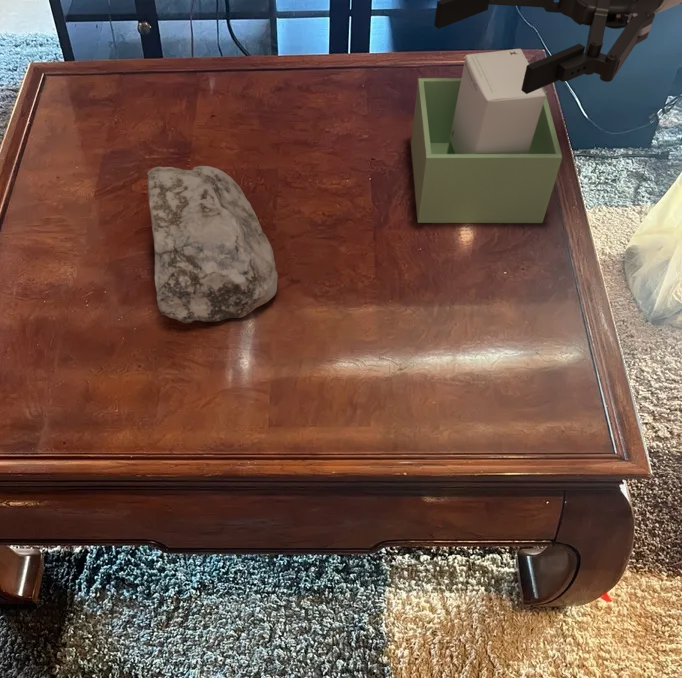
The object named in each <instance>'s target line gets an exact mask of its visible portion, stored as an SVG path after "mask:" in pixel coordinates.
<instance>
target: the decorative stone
mask: <svg viewBox="0 0 682 678" xmlns="http://www.w3.org/2000/svg"><path fill="white" fill-rule="evenodd" d="M146 175H147V196H148V197H147V198H148V204H149V211H150V220H151V231H152V232H151V233H152V238H153V247H154V285H155V291H156V302H157V307H158V310H159V312H160V314H161V315H162V316H167V317H168V318H171V319H174V320H177V321H178V322H181V323H184V324H192V323H193V322H195V321H200V322H207V323H208V322H210V323H215V322H221V321H224V320H226V319H232V318H236V319H239V318H240V319H241V318H243V317H245V316H247V315H248V314H250V313H252V311H254V310H255V309H256V308H258V307H261V306H262V305H265V304H266V303H268V302H269V301H270V300H271V299H272V298H274V296H275V295H276V293H277V291H278V279H279V278H278V276H279V275H278V272H277V270H276V261H275V255H274V254H275V253H274V251H273V248H272V245H271V243H270V241H269V239H268V237H267V235H266V234H265V233H264V232H263V229H262V226H261V224H260V221H259V220H258V217H257V215H256V212H255V211H254V209H253V207H252V205H251V202H249V200H248V199H247V198H246V195H245V193H244V192H243V190H242V189H241V187H240V185H238V183H237V182H236V181H235V180H234V179H233V178H232V177H231V176H230V175H228V174H227V173H226V172H224V171H223V170H221V169H219V168H216V167H213V166H209V165H197V166H194V167H193V168H192V169H182V168H179V167H173V166H156V167H153V168H151V169H149V171H147V173H146Z"/></svg>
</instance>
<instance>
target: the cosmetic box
mask: <svg viewBox="0 0 682 678" xmlns="http://www.w3.org/2000/svg"><path fill="white" fill-rule="evenodd" d="M529 64H530V63H529V61H528V59H527V58H526V56H525V54H524V52H523V50H522V48H513V49H506V50H505V49H503V50H498V51H496V50H495V51H487V52H479V53H471V54H465V56H464V63H463V68H462V73H461V77H460V78H461V83H460V88H459V93H458V98H457V104H456V109H455V114H454V119H453V124H452V129H451V134H450V139H449V145H448V150H447V154H528V152H529V149H530V146H531V142H532V139H533V136H534V132H535V129H536V126H537V123H538V119H539V116H540V113H541V110H542V106H543V103H544V100H545V96H547V94H546V95H545V93H544V91H543V89H542V88H540V89H537V90H535V91H533V92H530V93H528V94H525V93H524V92H523V91H521V89H522V84H523V80H524V76H525V72H526V67H527V65H529Z"/></svg>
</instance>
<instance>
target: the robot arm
mask: <svg viewBox="0 0 682 678" xmlns="http://www.w3.org/2000/svg"><path fill="white" fill-rule="evenodd" d="M681 4H682V0H558V1H555V0H437V1H436V7H435V16H434V23H433V25H434V27H435V28H437V29H438V30H439V29H442V28H444V27H447V26H451V25H452V24H455V23H458V22H460V21H463V20H465V19H467V18H470V17H474V16H476V15H478V14H481V13H484V12H487V11H488V10H489V6H490V5H492V6H493V5H494V6H509V7H510V6H511V7H527V8H543V9H544V11H545V12H547V13H557V14H561V15H563V16H565V17H568V18H570V19H571V20H572V21H574V23H576V24H577V25H578V26H581V25H584V26H589V28H588V34H587V40H586V46H584V45H583V44H581V43H577V44H575V45H573V46H570V47H567V48H565V49H563V50H560V51H558V52H556V53H553V54H551V55H548V56H546V57H544V58H542V59H539V60H536V61H534V62H531V63H529V65H527V67H526V72H525V76H524V80H523V84H522V89H521V91H523V92H524V93H525V94H528V93H530V92H533V91H535V90H537V89H540V88H542V87H544V88H545V87H546V86H549V85H551V84H553V83H556V82H558V81H560V82H562V83H563V82H570V81H571V80H574V79H576V78H578V77H580V76H582V75H587V76H590V75H594V74H596V75H599V80H600V81H602V82H606V83H609V82H611V81H613V80H614V78H615V77H616V75H617V74H618V72H619V71H620V69H621V67H622V66H623V65H624V63H625V61H626V60H627V58H628V57H629V55H630V54H631V52H632V51H633V49H634V48H635V46H636V45H638V44H639V43H641V42H643V41H645V40H646V39H648V36H649V34H650V31H651V27H652V26H653V23H654V19H655V16H656V15H657V14H659V13H662V12H664V11H667V10H669V9H671V8H674V7H676V6H678V5H681ZM606 28H609V29H613V30H620V29H623V30H622V31H621V33H620V34H619V36H618V37H617V39H616V40H615V42H614V43H613V44H612V46H611V47H610V49H609V50H608V52H607V53H606V54H605V53H603V52H602V48H603V45H604V42H603V40H604V35H605V31H606Z"/></svg>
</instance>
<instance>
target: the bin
mask: <svg viewBox="0 0 682 678" xmlns="http://www.w3.org/2000/svg"><path fill="white" fill-rule="evenodd" d="M461 78H462V77H419V78H417V84H416V85H417V86H416V94H415V103H414V104H415V105H414V111H413V112H414V114H413V119H412V120H413V121H412V131H411V137H410V138H411V139H410V150H411V151H410V152H411V161H412V173H413V183H414V184H413V185H414V195H415V196H414V197H415V207H416V208H415V209H416V218H417V223H418V224H543V223H544V220H545V217H546V216H545V215H546V213H547V209H548V206H549V204H550V199H551V197H552V193H553V190H554V187H555V183H556V180H557V176H558V174H559V170H560V167H561V163H562V160H563V153H562V151H561V146H560V143H559V139H558V135H557V132H556V131H557V130H556V127H555V124H554V119H553V115H552V112H551V108H550V105H549V100H548V96H547V93H546V89H545V86H544V87H542V89H543V91H544V93H545V95H546V96H545V100H544V103H543V106H542V110H541V113H540V116H539V119H538V123H537V126H536V129H535V132H534V136H533V139H532V142H531V146H530V149H529V152H528V154H447V150H448V145H449V139H450V134H451V129H452V124H453V119H454V114H455V109H456V104H457V98H458V93H459V88H460V83H461Z"/></svg>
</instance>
